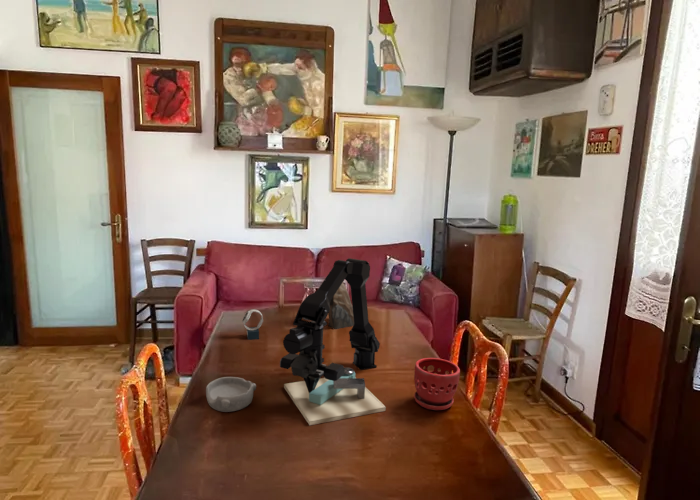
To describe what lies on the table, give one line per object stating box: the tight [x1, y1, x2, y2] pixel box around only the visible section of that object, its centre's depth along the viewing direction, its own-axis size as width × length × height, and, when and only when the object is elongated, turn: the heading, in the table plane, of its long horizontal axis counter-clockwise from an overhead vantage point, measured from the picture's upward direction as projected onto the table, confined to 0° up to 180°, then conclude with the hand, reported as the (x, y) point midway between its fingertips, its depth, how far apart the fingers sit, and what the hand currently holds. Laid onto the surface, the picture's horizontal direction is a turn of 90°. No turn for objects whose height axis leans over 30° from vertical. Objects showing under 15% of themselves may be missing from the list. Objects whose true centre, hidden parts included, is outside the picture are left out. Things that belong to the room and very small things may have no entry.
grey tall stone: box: [327, 282, 354, 330], centre depth 217 cm, size 13×13×20 cm
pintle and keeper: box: [333, 366, 366, 399], centre depth 154 cm, size 14×9×5 cm, turn 4°
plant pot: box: [413, 357, 461, 411], centre depth 149 cm, size 13×13×12 cm
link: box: [309, 371, 356, 405], centre depth 153 cm, size 21×5×2 cm, turn 150°
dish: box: [205, 376, 257, 413], centre depth 147 cm, size 14×14×5 cm
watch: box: [241, 309, 264, 341], centre depth 198 cm, size 6×8×11 cm
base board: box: [283, 376, 387, 426], centre depth 150 cm, size 23×24×1 cm
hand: (311, 393), depth 148 cm, fingers closed
